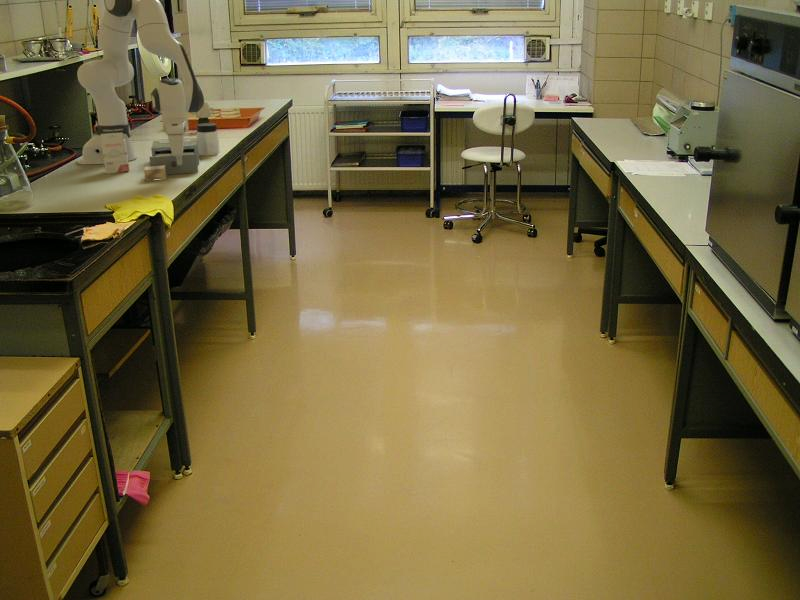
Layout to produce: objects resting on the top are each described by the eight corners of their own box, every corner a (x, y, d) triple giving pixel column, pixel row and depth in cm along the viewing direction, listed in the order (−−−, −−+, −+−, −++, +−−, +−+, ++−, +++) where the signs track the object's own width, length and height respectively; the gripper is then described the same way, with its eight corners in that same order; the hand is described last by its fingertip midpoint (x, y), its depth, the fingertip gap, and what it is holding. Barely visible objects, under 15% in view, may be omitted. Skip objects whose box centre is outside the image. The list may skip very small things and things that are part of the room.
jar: (202, 156, 345) (199, 126, 341) (195, 153, 352) (192, 124, 347) (223, 154, 350) (220, 124, 346) (216, 151, 356) (213, 122, 352)
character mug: (217, 129, 410) (214, 102, 405) (214, 132, 403) (212, 104, 399) (194, 130, 410) (191, 102, 405) (191, 132, 403) (188, 104, 398)
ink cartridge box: (129, 169, 325) (124, 130, 320) (129, 172, 320) (123, 132, 315) (105, 171, 323) (100, 132, 317) (105, 173, 318) (99, 134, 313)
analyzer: (153, 167, 327) (151, 147, 324) (155, 159, 341) (153, 140, 339) (199, 164, 330) (197, 144, 327) (199, 157, 344) (197, 137, 342)
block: (145, 181, 304) (144, 170, 302) (146, 177, 310) (145, 166, 309) (165, 179, 305) (164, 168, 304) (166, 175, 312) (165, 165, 310)
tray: (151, 175, 311) (149, 157, 309) (154, 166, 327) (152, 149, 325) (198, 172, 314) (196, 154, 312) (198, 163, 330) (196, 146, 328)
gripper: (167, 121, 312) (172, 159, 317) (165, 130, 294) (169, 170, 299) (185, 120, 314) (189, 158, 318) (184, 129, 295) (188, 169, 300)
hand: (179, 164), depth 308 cm, fingers closed
